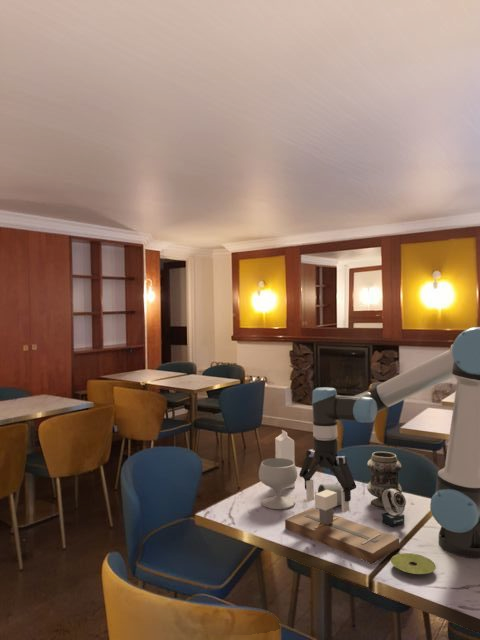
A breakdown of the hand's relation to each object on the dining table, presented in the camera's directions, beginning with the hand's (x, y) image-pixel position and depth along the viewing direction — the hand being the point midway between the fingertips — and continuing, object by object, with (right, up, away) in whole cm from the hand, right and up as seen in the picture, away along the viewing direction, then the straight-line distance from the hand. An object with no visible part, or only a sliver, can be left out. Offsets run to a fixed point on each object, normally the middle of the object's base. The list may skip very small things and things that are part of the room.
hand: (327, 505), depth 155 cm
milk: (-9, -9, +44) cm, 46 cm away
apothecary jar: (+25, -8, +23) cm, 35 cm away
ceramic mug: (+5, -9, +24) cm, 26 cm away
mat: (+19, -9, -23) cm, 31 cm away
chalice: (-13, -9, +25) cm, 30 cm away
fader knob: (0, -5, 0) cm, 5 cm away
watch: (+23, -9, +6) cm, 25 cm away
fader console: (+3, -9, -3) cm, 10 cm away
